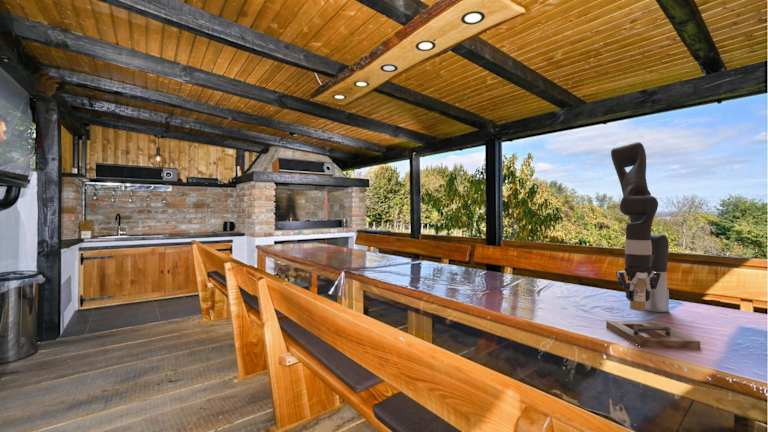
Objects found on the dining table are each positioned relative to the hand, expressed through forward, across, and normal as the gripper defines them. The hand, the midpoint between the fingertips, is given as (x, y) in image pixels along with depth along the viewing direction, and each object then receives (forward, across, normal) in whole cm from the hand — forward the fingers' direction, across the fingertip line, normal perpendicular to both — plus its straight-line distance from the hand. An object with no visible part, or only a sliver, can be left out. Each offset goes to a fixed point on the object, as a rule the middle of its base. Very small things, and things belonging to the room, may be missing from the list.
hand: (637, 300), depth 115 cm
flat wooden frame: (+12, -2, +3) cm, 12 cm away
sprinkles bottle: (+3, 0, 0) cm, 3 cm away
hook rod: (+10, 0, +7) cm, 12 cm away
